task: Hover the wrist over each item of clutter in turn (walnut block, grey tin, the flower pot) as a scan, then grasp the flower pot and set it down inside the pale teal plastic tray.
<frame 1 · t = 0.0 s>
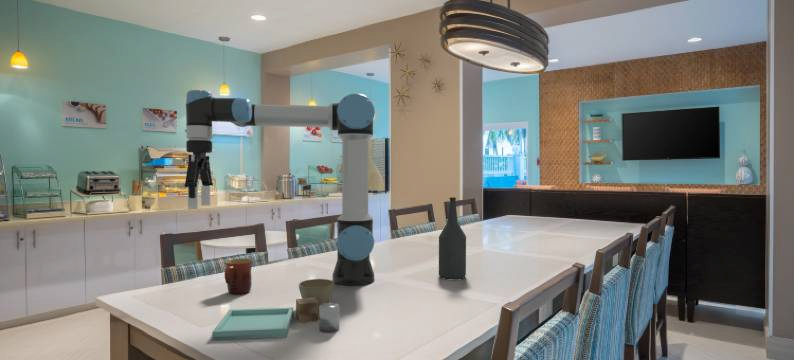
hand: (199, 207, 144), 28 cm above the table, fingers open, 13 cm apart
flower pot: (316, 308, 132), on the table
grey tin: (329, 329, 114), on the table
tray: (256, 326, 116), on the table
mug: (236, 294, 146), on the table
walnut block: (307, 319, 122), on the table
bottle: (452, 277, 170), on the table
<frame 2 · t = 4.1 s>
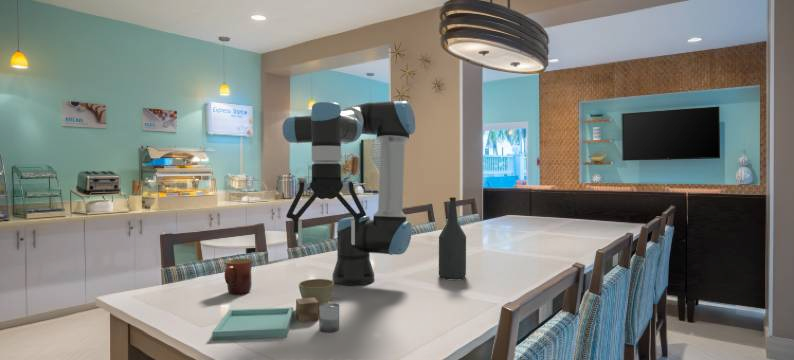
hand: (326, 244, 118), 20 cm above the table, fingers open, 13 cm apart
nothing on the table moved.
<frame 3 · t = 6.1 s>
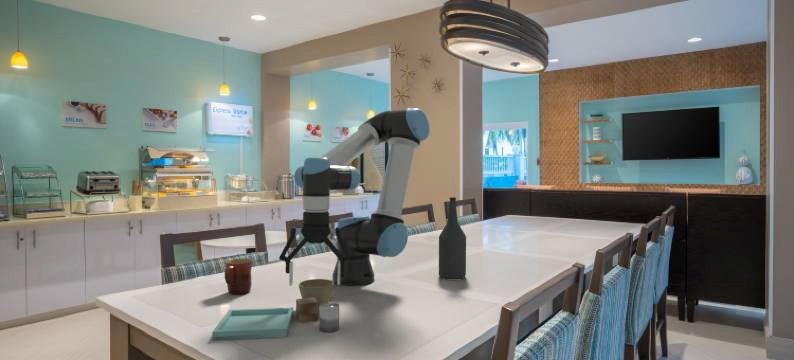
hand: (315, 284, 131), 7 cm above the table, fingers open, 13 cm apart
nothing on the table moved.
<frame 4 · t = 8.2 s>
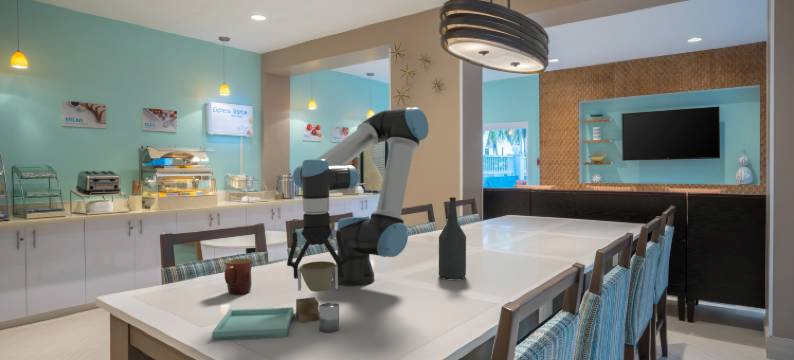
hand: (318, 288, 132), 5 cm above the table, fingers closed on flower pot, 10 cm apart
flower pot: (318, 290, 132), point 5 cm above the table, touching gripper
everything else where it was.
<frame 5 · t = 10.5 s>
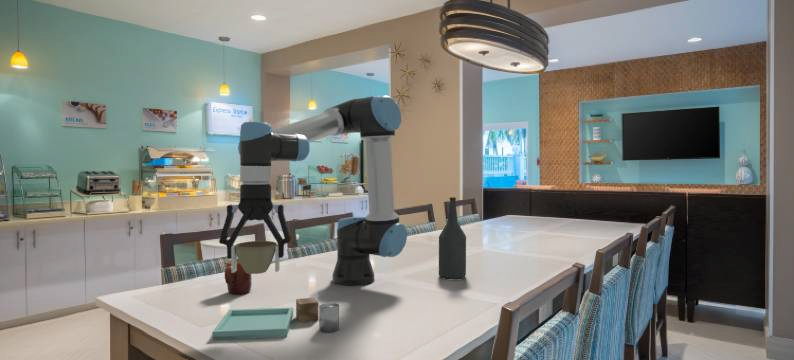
hand: (255, 270, 115), 14 cm above the table, fingers closed on flower pot, 10 cm apart
flower pot: (255, 272, 115), point 14 cm above the table, touching gripper
everything else where it was.
when the fingers open (3 cm above the table, at t = 13.0 s): flower pot drops 2 cm, resting on tray.
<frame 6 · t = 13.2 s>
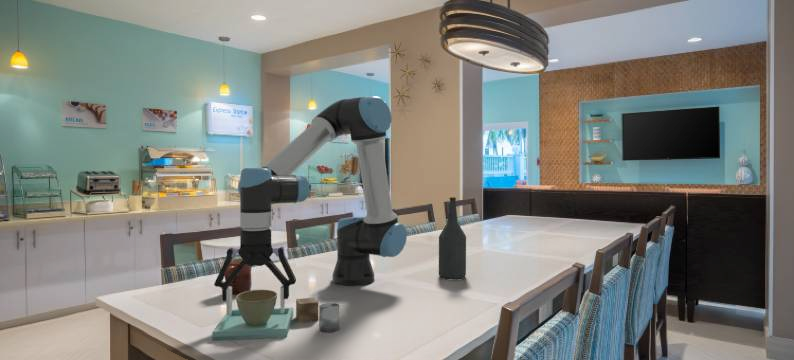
hand: (256, 312, 115), 4 cm above the table, fingers open, 12 cm apart
flower pot: (256, 323, 116), point 1 cm above the table, touching tray
everything else where it was.
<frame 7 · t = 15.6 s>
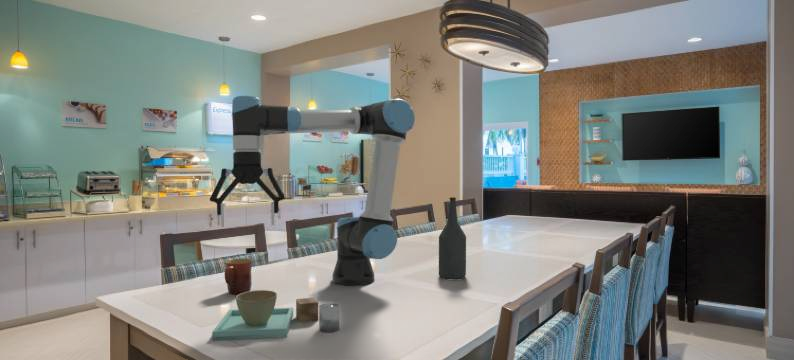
hand: (248, 225, 130), 24 cm above the table, fingers open, 13 cm apart
nothing on the table moved.
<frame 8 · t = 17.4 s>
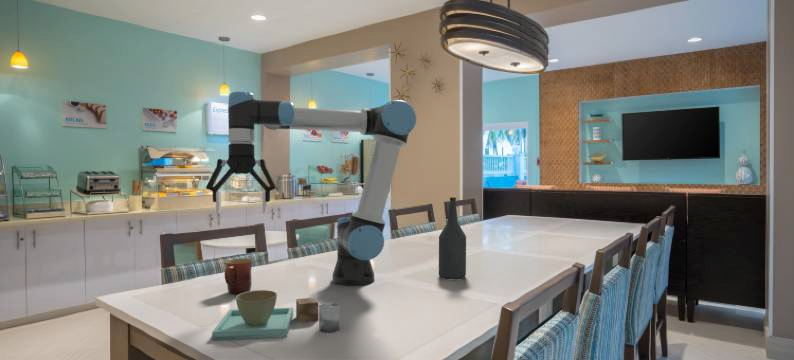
hand: (241, 212, 139), 27 cm above the table, fingers open, 13 cm apart
nothing on the table moved.
at the end: flower pot inside the target area on the tray (0.1 cm from its centre), point 0.6 cm above the tray's base; flower pot tilted 0°; the gripper is holding nothing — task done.
